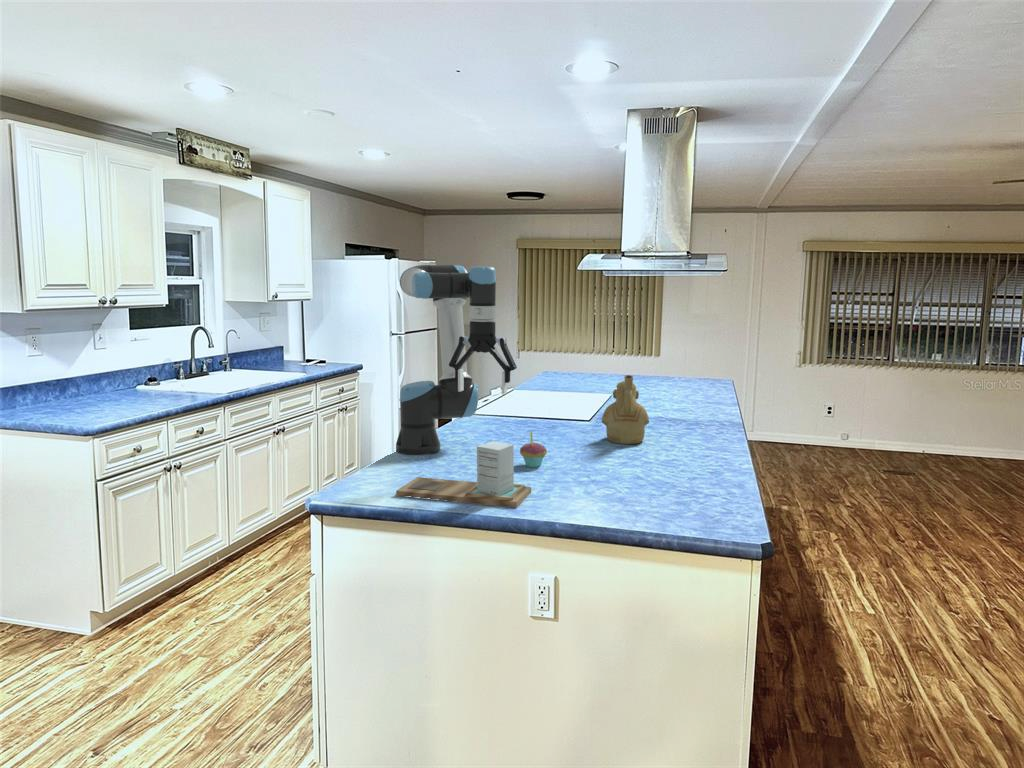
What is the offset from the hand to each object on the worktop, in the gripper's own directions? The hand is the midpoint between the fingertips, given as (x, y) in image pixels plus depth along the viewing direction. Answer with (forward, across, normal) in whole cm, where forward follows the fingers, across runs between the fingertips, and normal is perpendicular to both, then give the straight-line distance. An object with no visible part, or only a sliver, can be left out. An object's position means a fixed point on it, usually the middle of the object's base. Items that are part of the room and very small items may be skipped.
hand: (482, 392), depth 209 cm
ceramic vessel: (+26, +35, +57) cm, 72 cm away
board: (+24, +2, -21) cm, 32 cm away
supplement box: (+23, +11, -21) cm, 33 cm away
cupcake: (+25, +12, +14) cm, 31 cm away
